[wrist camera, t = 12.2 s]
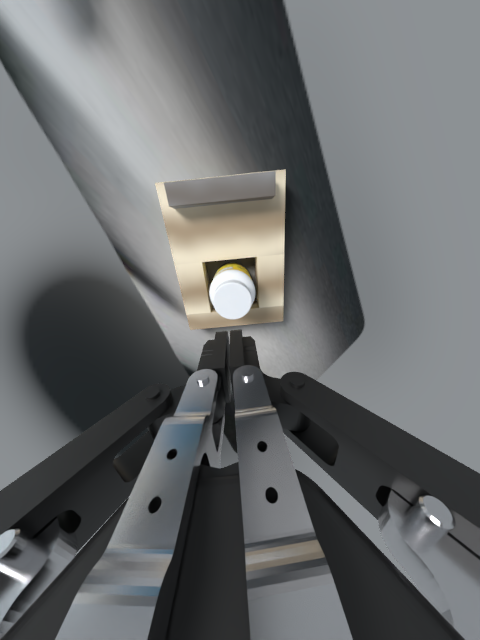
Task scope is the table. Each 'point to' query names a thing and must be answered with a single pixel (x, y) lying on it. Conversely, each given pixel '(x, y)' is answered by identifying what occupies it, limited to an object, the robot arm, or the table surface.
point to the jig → (227, 239)
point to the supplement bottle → (232, 291)
